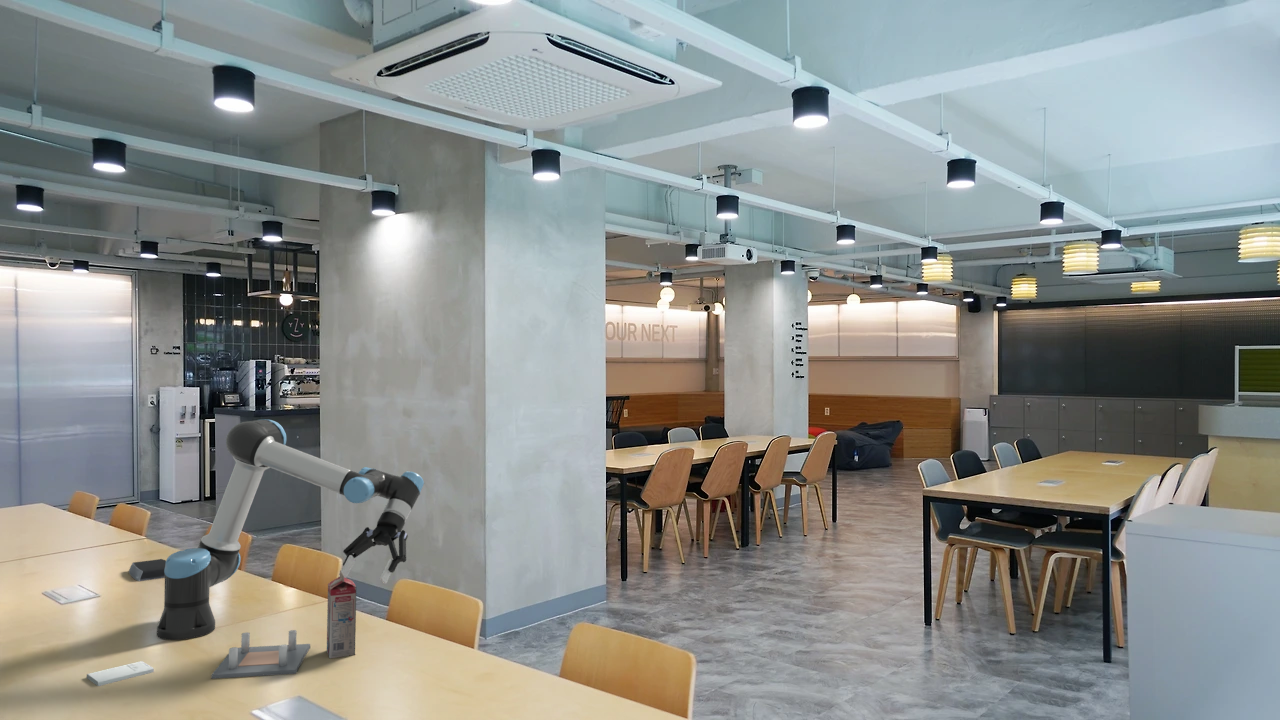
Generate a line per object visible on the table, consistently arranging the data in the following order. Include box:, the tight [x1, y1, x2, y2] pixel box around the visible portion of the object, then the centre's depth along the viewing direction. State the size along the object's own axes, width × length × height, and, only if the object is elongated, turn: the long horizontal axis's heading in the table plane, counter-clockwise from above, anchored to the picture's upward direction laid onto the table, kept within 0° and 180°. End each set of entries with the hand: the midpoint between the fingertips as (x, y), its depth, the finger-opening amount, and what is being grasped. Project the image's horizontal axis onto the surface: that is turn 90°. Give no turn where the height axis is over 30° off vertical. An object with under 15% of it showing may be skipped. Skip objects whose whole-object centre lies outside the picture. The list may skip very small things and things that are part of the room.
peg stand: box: [210, 629, 311, 679], centre depth 215 cm, size 20×20×6 cm
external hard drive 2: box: [86, 660, 155, 687], centre depth 205 cm, size 2×8×12 cm
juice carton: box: [326, 569, 357, 659], centre depth 223 cm, size 7×7×22 cm
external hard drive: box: [128, 558, 167, 582], centre depth 304 cm, size 13×19×4 cm
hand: (362, 579), depth 230 cm, fingers open, 13 cm apart
